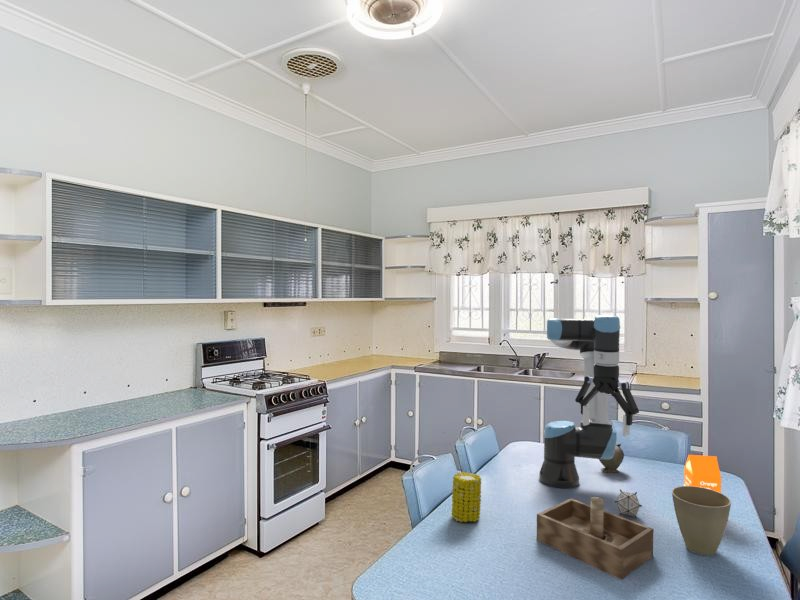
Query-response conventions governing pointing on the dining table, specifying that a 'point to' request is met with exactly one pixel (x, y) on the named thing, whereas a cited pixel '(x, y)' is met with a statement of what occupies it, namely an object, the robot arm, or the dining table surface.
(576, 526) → the box
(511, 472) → the dining table surface
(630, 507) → the game die
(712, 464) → the orange juice
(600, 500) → the peg
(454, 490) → the food
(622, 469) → the dining table surface
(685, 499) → the plant pot
